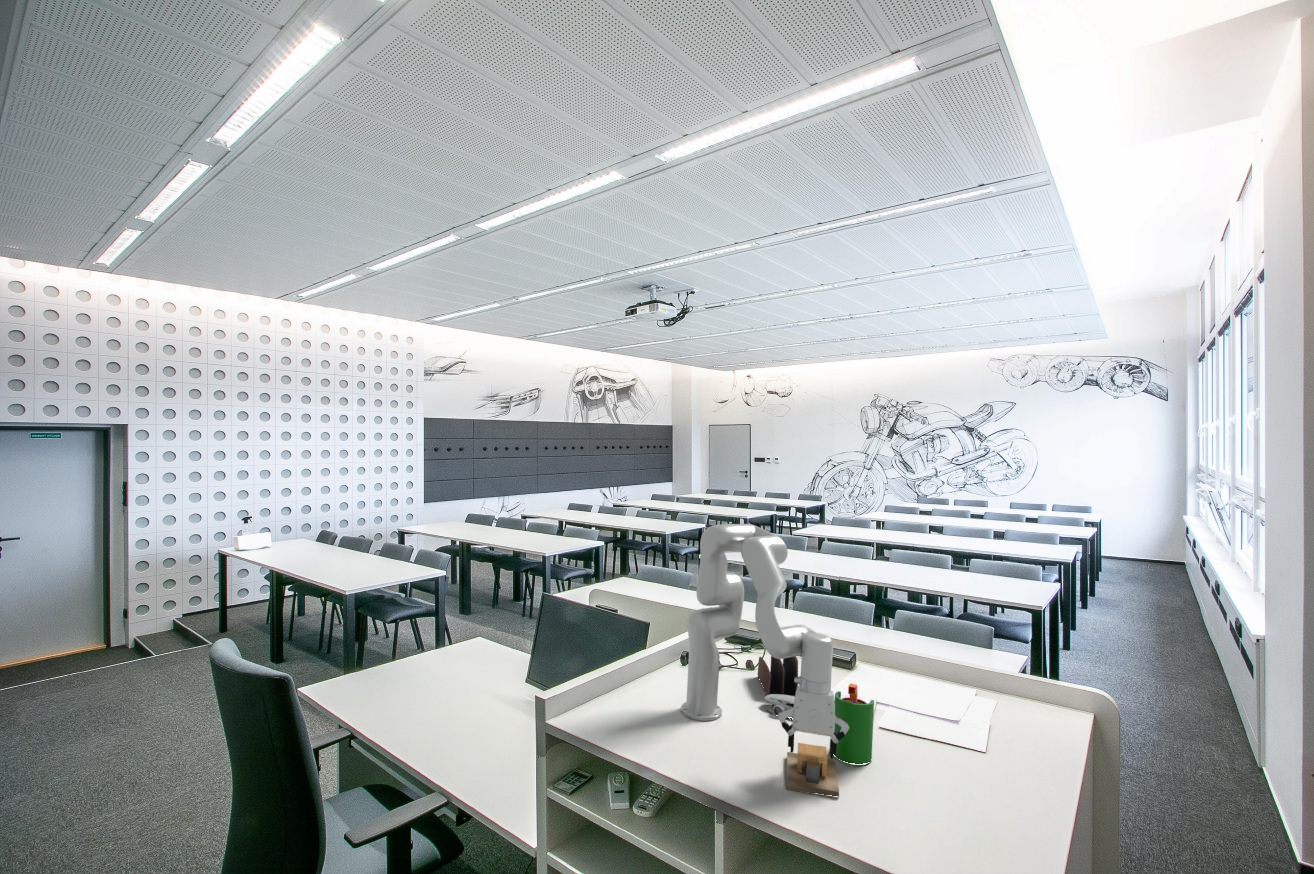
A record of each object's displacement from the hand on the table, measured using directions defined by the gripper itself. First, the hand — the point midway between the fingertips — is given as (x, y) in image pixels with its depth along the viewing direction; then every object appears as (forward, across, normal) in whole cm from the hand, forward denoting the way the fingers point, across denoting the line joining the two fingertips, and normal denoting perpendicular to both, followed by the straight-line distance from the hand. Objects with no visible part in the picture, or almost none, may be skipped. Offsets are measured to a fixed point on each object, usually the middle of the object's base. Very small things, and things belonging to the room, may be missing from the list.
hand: (811, 753), depth 150 cm
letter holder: (+7, -10, +57) cm, 58 cm away
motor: (+6, +11, +14) cm, 19 cm away
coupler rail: (+4, 0, 0) cm, 4 cm away
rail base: (+6, 0, 0) cm, 6 cm away
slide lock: (+4, 0, 0) cm, 4 cm away
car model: (+7, -2, +36) cm, 37 cm away
